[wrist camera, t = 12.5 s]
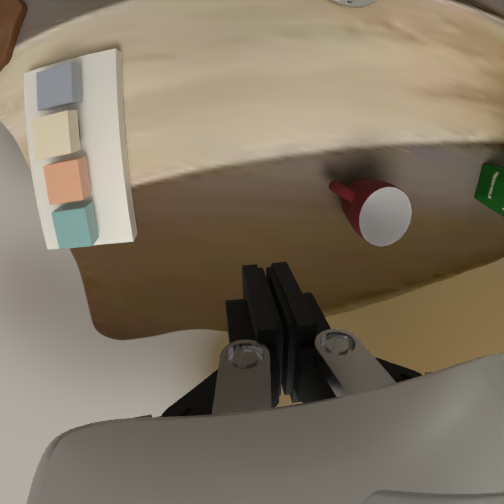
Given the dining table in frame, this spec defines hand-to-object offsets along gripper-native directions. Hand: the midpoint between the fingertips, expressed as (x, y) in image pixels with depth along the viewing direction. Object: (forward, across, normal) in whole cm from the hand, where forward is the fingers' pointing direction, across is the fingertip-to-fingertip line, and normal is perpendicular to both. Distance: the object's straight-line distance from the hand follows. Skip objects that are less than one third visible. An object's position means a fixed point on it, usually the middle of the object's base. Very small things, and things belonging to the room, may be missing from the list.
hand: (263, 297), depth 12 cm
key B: (+30, +20, -7) cm, 37 cm away
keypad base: (+33, +20, -4) cm, 39 cm away
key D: (+32, +20, +5) cm, 38 cm away
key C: (+32, +20, -1) cm, 37 cm away
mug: (+33, -18, +5) cm, 38 cm away
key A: (+32, +20, -13) cm, 40 cm away
